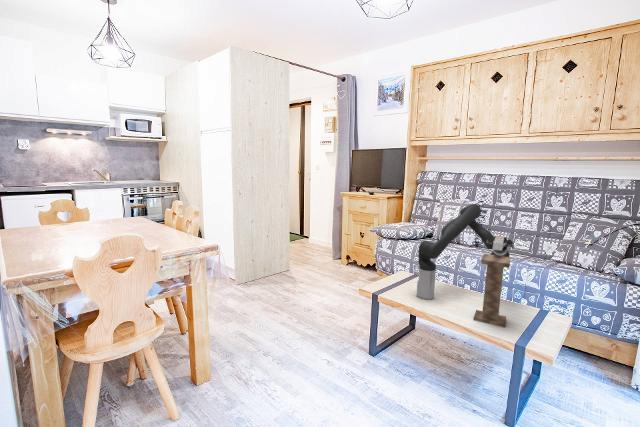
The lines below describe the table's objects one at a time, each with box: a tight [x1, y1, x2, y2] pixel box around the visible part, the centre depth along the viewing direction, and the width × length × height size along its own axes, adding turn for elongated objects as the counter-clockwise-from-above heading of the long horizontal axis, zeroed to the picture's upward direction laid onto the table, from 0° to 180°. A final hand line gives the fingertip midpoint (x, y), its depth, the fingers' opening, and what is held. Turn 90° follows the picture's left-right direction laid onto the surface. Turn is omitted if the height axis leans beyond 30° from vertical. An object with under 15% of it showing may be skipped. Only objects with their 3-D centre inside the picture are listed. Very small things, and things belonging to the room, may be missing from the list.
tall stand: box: [473, 253, 512, 328], centre depth 164 cm, size 14×13×32 cm
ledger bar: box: [492, 235, 505, 251], centre depth 171 cm, size 4×20×4 cm, turn 148°
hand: (499, 238), depth 176 cm, fingers closed on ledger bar, 4 cm apart
